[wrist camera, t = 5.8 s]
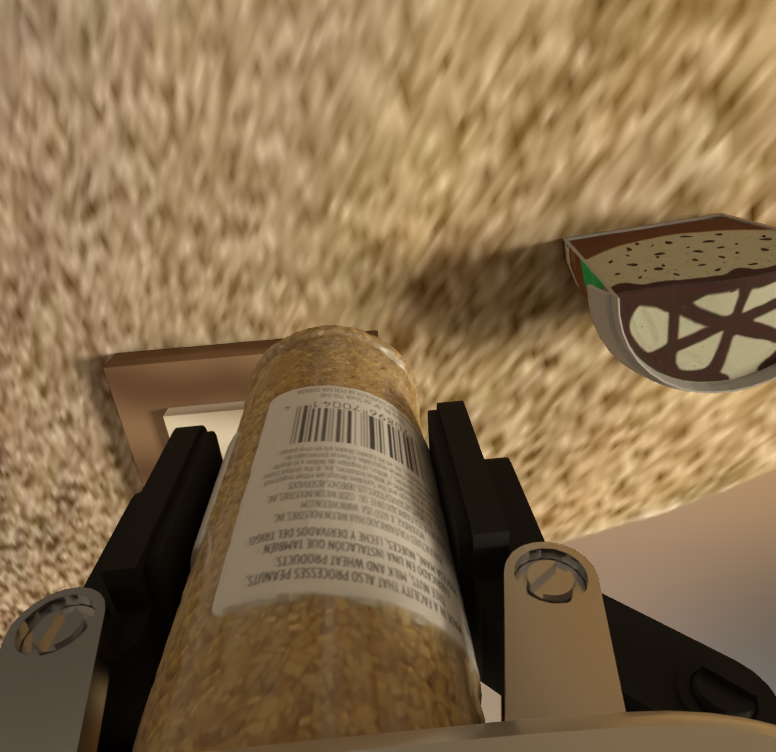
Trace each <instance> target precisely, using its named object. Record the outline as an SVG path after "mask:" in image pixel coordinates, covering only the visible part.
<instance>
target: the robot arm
mask: <svg viewBox="0 0 776 752" xmlns="http://www.w3.org/2000/svg"><path fill="white" fill-rule="evenodd" d="M428 431H429V451H430V455H431V459H432V463H433V468H434V472H435V477H436V481H437V486H438V491H439V495H440V500H441V504H442V509H443V513H444V518H445V522H446V527H447V531H448V536H449V541H450V546H451V550H452V555H453V559H454V564H455V568H456V572H457V577H458V581H459V586H460V590H461V594H462V598H463V602H464V607H465V611H466V616H467V621H468V625H469V630H470V634H471V639H472V643H473V648H474V652H475V657H476V662H477V666H478V671H479V676H480V682H481V681H482V682H483V683H484V684H485V685H487V686H488V687H490V688H491V689H493V690H494V691H495V692H497V693H499V694H500V695H501V722H492V723H482V724H472V725H462V726H452V727H441V728H431V729H421V730H411V731H400V732H390V733H380V734H370V735H360V736H350V737H340V738H331V739H321V740H311V741H301V742H292V743H282V744H272V745H262V746H253V747H243V748H234V749H224V750H215V751H205V752H776V696H775V694H774V693H773V691H772V690H771V689H770V687H769V686H768V685H767V684H766V683H765V682H764V681H763V680H762V679H761V678H760V677H759V676H758V675H756V674H755V673H754V672H753V671H752V670H750V669H748V668H747V667H745V666H744V665H742V664H740V663H739V662H737V661H735V660H734V659H732V658H729V657H728V656H725V655H723V654H721V653H720V652H717V651H716V650H713V649H712V648H710V647H707V646H706V645H704V644H702V643H700V642H698V641H696V640H693V639H692V638H690V637H688V636H686V635H684V634H682V633H680V632H678V631H676V630H674V629H672V628H670V627H668V626H666V625H664V624H662V623H660V622H658V621H656V620H654V619H652V618H650V617H648V616H646V615H644V614H642V613H640V612H638V611H636V610H634V609H632V608H630V607H628V606H626V605H624V604H622V603H620V602H618V601H616V600H614V599H612V598H610V597H608V596H606V595H604V594H602V593H601V588H600V583H599V578H598V575H597V573H596V571H595V568H594V566H593V565H592V564H591V563H590V562H589V561H588V559H587V558H586V557H584V556H583V555H582V554H580V553H579V552H577V551H576V550H574V549H572V548H569V547H567V546H565V545H562V544H558V543H552V542H545V541H544V538H543V536H542V534H541V531H540V529H539V527H538V524H537V522H536V520H535V517H534V515H533V513H532V510H531V508H530V506H529V503H528V501H527V499H526V496H525V494H524V492H523V489H522V487H521V485H520V482H519V480H518V478H517V475H516V473H515V471H514V468H513V466H512V464H511V462H510V460H509V458H507V457H504V458H494V459H484V457H483V455H482V452H481V449H480V446H479V444H478V441H477V438H476V435H475V432H474V430H473V427H472V424H471V421H470V418H469V416H468V413H467V410H466V407H465V404H464V402H463V401H453V402H443V403H437V410H429V411H428ZM222 462H223V458H222V455H221V451H220V447H219V443H218V439H217V436H216V433H215V432H214V431H207V429H206V427H205V426H204V425H199V426H188V427H178V428H175V429H174V431H173V433H172V434H171V436H170V438H169V440H168V442H167V444H166V446H165V448H164V450H163V451H162V453H161V455H160V457H159V459H158V461H157V463H156V465H155V467H154V469H153V470H152V472H151V474H150V476H149V478H148V480H147V482H146V484H145V486H144V487H143V489H142V491H141V492H139V493H137V494H135V495H134V496H133V498H132V499H131V501H130V503H129V504H128V506H127V508H126V510H125V512H124V514H123V515H122V517H121V519H120V521H119V523H118V525H117V527H116V528H115V530H114V532H113V534H112V536H111V538H110V539H109V541H108V543H107V545H106V547H105V549H104V550H103V552H102V554H101V556H100V558H99V560H98V562H97V563H96V565H95V567H94V569H93V571H92V573H91V574H90V576H89V578H88V580H87V582H86V584H85V586H84V587H77V588H70V589H65V590H62V591H59V592H56V593H53V594H51V595H49V596H47V597H45V598H43V599H41V600H40V601H38V602H36V603H35V604H33V605H32V606H31V607H29V608H28V609H27V610H26V611H24V612H23V613H22V614H21V615H20V616H19V617H18V618H17V619H16V620H15V622H14V623H13V624H12V625H11V627H10V628H9V630H8V632H7V634H6V636H5V637H4V640H3V643H2V645H1V648H0V752H132V750H133V745H134V742H135V739H136V736H137V732H138V729H139V725H140V722H141V718H142V715H143V712H144V709H145V706H146V703H147V700H148V697H149V694H150V691H151V688H152V686H153V684H154V681H155V677H156V673H157V670H158V667H159V664H160V662H161V659H162V656H163V652H164V648H165V645H166V642H167V640H168V637H169V634H170V631H171V628H172V625H173V622H174V619H175V616H176V613H177V610H178V607H179V605H180V603H181V597H182V594H183V591H184V589H185V585H186V582H187V579H188V576H189V574H190V561H191V555H192V551H193V547H194V544H195V541H196V538H197V535H198V533H199V530H200V527H201V524H202V521H203V517H204V514H205V511H206V509H207V506H208V503H209V500H210V497H211V494H212V491H213V488H214V485H215V482H216V479H217V477H218V474H219V471H220V468H221V465H222Z"/></svg>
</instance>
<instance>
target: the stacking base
mask: <svg viewBox="0 0 776 752" xmlns="http://www.w3.org/2000/svg"><path fill="white" fill-rule="evenodd" d="M366 333H367V334H370V335H374V336H376V337H378V332H377V331H367V332H366ZM281 340H282V339H276V340H264V341H253V342H242V343H230V344H219V345H207V346H196V347H185V348H173V349H162V350H150V351H139V352H128V353H116V354H115V355H114V356H113V357H112V359H111V360H110V361H109V362H108V363H107V364H106V365H105V366H104V368H103V369H104V372H105V375H106V378H107V381H108V384H109V387H110V390H111V393H112V396H113V399H114V402H115V404H116V407H117V410H118V413H119V416H120V419H121V422H122V425H123V428H124V431H125V434H126V437H127V440H128V443H129V446H130V449H131V452H132V454H133V457H134V460H135V463H136V466H137V469H138V472H139V475H140V478H141V481H142V484H143V487H144V486H145V484H146V482H147V480H148V478H149V476H150V474H151V472H152V470H153V469H154V467H155V465H156V463H157V461H158V459H159V457H160V455H161V453H162V451H163V450H164V448H165V446H166V444H167V442H168V440H169V438H170V436H171V434H172V433H173V431H174V429H175V428H178V427H188V426H199V425H204V426H205V427H206V429H207V431H214V432H215V433H216V436H217V439H218V443H219V447H220V451H221V455H222V458H223V459H224V456H225V454H226V451H227V448H228V445H229V444H230V442H231V440H232V438H233V436H234V435H235V434H236V433H237V429H238V427H239V424H240V420H241V417H242V414H243V411H244V407H245V406H244V401H245V395H246V391H247V387H248V384H249V380H250V375H251V373H252V371H253V370H254V368H255V366H256V365H257V363H258V362H259V360H260V359H261V357H262V356H263V354H264V353H265V352H266V351H267V350H268V349H269V348H270V347H271V346H273V345H274V344H276V343H278V342H280V341H281Z"/></svg>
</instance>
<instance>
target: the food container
mask: <svg viewBox="0 0 776 752" xmlns="http://www.w3.org/2000/svg"><path fill="white" fill-rule="evenodd" d="M562 245H563V257H564V260H565V262H566V264H567V267H568V269H569V272H570V274H571V277H572V279H573V280H574V282H575V283H576V284H577V286H578V287H579V288H580V290H581V291H582V292H583V294H584V295H585V296H586V298H587V299H588V304H589V308H590V312H591V316H592V320H593V323H594V326H595V328H596V330H597V332H598V334H599V337H600V339H601V340H602V341H603V343H604V344H605V346H606V347H607V349H608V350H609V351H610V353H612V354H613V355H614V356H615V357H616V358H617V359H618V360H619V361H620V362H621V363H622V364H623V365H625V366H627V367H628V368H630V369H631V370H633V371H634V372H636V373H638V374H640V375H642V376H644V377H646V378H648V379H650V380H652V381H655V382H657V383H659V384H662V385H664V386H667V387H670V388H674V389H679V390H683V391H692V392H698V393H724V392H734V391H739V390H743V389H748V388H752V387H755V386H758V385H761V384H764V383H766V382H769V381H772V380H774V379H776V227H773V226H769V225H765V224H761V223H758V222H754V221H750V220H746V219H742V218H739V217H735V216H731V215H727V214H723V213H721V214H714V215H708V216H702V217H695V218H689V219H682V220H676V221H670V222H663V223H657V224H650V225H644V226H638V227H631V228H625V229H618V230H612V231H606V232H599V233H593V234H586V235H580V236H574V237H567V238H562Z"/></svg>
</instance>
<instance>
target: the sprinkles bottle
mask: <svg viewBox="0 0 776 752" xmlns="http://www.w3.org/2000/svg"><path fill="white" fill-rule="evenodd" d="M244 406H245V407H244V411H243V414H242V417H241V420H240V424H239V427H238V429H237V433H236V434H235V435H234V436H233V438H232V440H231V442H230V444H229V445H228V448H227V451H226V454H225V456H224V459H223V462H222V465H221V468H220V471H219V474H218V477H217V479H216V482H215V485H214V488H213V491H212V494H211V497H210V500H209V503H208V506H207V509H206V511H205V514H204V517H203V521H202V524H201V527H200V530H199V533H198V535H197V538H196V541H195V544H194V547H193V551H192V555H191V561H190V574H189V576H188V579H187V582H186V585H185V589H184V591H183V594H182V597H181V603H180V605H179V607H178V610H177V613H176V616H175V619H174V622H173V625H172V628H171V631H170V634H169V637H168V640H167V642H166V645H165V648H164V652H163V656H162V659H161V662H160V664H159V667H158V670H157V673H156V677H155V681H154V684H153V686H152V688H151V691H150V694H149V697H148V700H147V703H146V706H145V709H144V712H143V715H142V718H141V722H140V725H139V729H138V732H137V736H136V739H135V742H134V745H133V750H132V752H205V751H215V750H224V749H234V748H243V747H253V746H262V745H272V744H282V743H292V742H301V741H311V740H321V739H331V738H340V737H350V736H360V735H370V734H380V733H390V732H400V731H411V730H421V729H431V728H441V727H452V726H462V725H472V724H482V723H485V718H484V715H483V711H482V708H481V697H482V694H481V684H480V676H479V671H478V666H477V662H476V657H475V652H474V648H473V643H472V639H471V634H470V630H469V625H468V621H467V616H466V611H465V607H464V602H463V598H462V594H461V590H460V586H459V581H458V577H457V572H456V568H455V564H454V559H453V555H452V550H451V546H450V541H449V536H448V531H447V527H446V522H445V518H444V513H443V509H442V504H441V500H440V495H439V491H438V486H437V481H436V477H435V472H434V468H433V463H432V459H431V455H430V452H429V449H428V446H427V444H426V442H425V440H424V438H423V433H422V428H421V424H420V418H419V412H420V404H419V397H418V386H417V383H416V380H415V378H414V375H413V373H412V371H411V369H410V368H409V366H408V365H407V363H406V361H405V360H404V359H403V357H402V356H401V355H400V354H399V353H398V352H397V350H396V349H394V348H393V347H392V346H390V345H388V344H387V343H385V342H384V341H383V340H381V339H380V338H378V337H376V336H374V335H370V334H367V333H366V332H365V331H362V330H359V329H355V328H350V327H341V326H335V325H331V326H320V327H314V328H308V329H305V330H302V331H299V332H295V333H293V334H292V335H291V336H289V337H286V338H284V339H282V340H281V341H280V342H278V343H276V344H274V345H273V346H271V347H270V348H269V349H268V350H267V351H266V352H265V353H264V354H263V356H262V357H261V359H260V360H259V362H258V363H257V365H256V366H255V368H254V370H253V371H252V373H251V375H250V380H249V384H248V387H247V391H246V395H245V401H244Z"/></svg>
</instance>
